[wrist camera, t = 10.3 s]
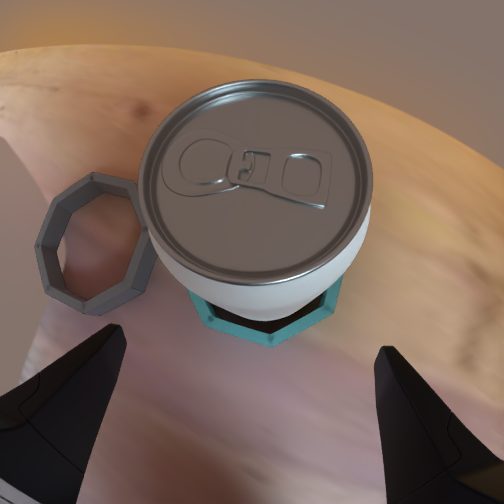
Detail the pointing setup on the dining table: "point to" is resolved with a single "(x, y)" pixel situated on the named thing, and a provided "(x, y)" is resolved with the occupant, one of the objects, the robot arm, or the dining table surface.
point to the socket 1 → (54, 232)
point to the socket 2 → (260, 337)
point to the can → (256, 195)
